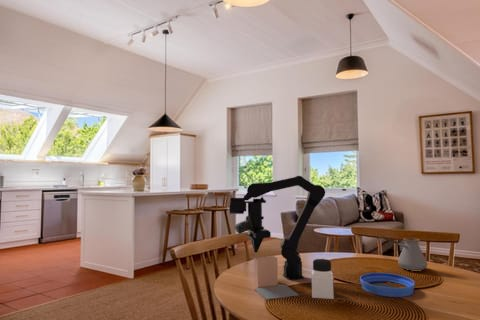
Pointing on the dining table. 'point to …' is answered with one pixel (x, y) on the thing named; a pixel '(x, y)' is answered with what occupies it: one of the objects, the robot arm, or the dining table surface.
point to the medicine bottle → (322, 279)
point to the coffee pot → (410, 254)
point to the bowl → (387, 288)
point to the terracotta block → (265, 271)
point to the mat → (276, 292)
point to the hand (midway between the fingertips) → (255, 252)
